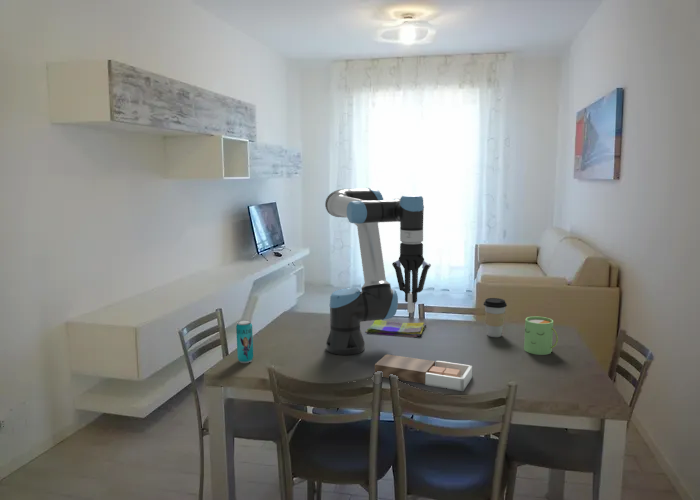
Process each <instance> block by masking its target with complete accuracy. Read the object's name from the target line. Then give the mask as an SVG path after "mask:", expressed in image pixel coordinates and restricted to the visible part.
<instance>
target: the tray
mask: <svg viewBox="0 0 700 500" xmlns="http://www.w3.org/2000/svg"><path fill="white" fill-rule="evenodd" d="M435 366H436V367H443V368H446V369H447V368H451V369H458V370H460V377H453V376H447V375H440V374H434V373H427V372H426V377H425V384H424V385H425V386H430V387H435V388H439V389H441V388H442V389H446V388H447V390H452V391H459V392H464V391H465V389H466V388H467V386H468V385H469V383H470V382H471V380H472V379H473V372H474V370H473V368H474V366H473V365H472V364H471V365H470V364H463V363H456V362H449V361H444V360H436V361H435Z"/></svg>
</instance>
